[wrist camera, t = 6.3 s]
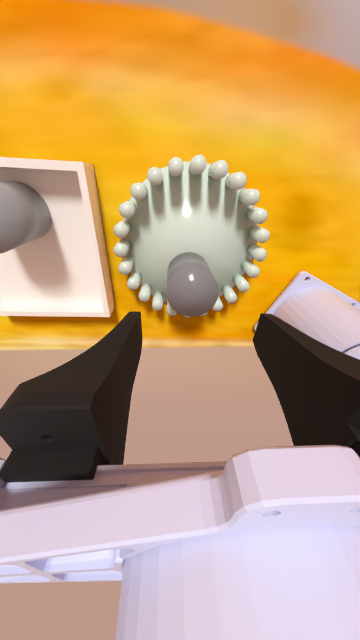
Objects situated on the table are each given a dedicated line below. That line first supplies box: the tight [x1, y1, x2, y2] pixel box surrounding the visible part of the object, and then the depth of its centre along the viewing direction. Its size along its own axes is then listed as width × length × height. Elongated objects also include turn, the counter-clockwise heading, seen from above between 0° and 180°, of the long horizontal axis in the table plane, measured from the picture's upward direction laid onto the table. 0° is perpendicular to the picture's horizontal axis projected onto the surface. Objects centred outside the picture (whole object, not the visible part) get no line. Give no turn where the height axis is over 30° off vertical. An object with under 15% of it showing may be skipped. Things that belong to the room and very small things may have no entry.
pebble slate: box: [0, 181, 51, 253], centre depth 14 cm, size 4×4×4 cm
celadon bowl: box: [114, 155, 270, 318], centre depth 17 cm, size 12×12×3 cm
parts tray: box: [0, 157, 115, 317], centre depth 17 cm, size 12×12×2 cm
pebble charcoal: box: [167, 252, 219, 317], centre depth 18 cm, size 4×4×4 cm
